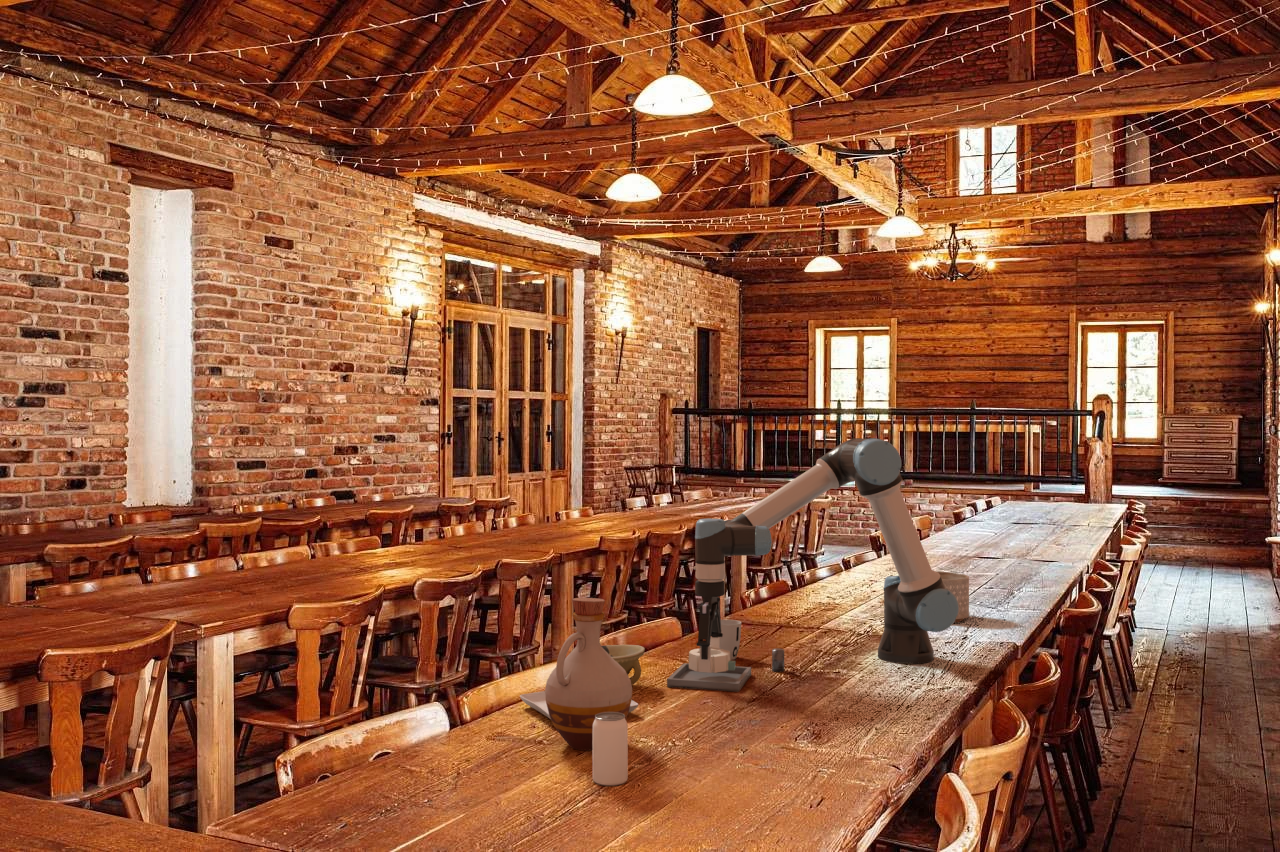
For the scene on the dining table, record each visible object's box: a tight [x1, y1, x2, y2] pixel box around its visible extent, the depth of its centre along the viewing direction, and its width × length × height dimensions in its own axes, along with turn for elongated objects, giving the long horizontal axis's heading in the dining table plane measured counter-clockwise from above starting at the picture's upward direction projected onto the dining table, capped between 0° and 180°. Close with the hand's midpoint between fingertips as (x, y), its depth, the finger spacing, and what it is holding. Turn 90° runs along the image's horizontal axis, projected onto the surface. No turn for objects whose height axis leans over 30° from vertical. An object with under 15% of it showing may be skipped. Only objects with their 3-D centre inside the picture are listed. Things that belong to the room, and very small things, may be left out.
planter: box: [937, 571, 970, 623], centre depth 359 cm, size 19×19×14 cm
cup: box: [718, 619, 742, 661], centre depth 300 cm, size 8×8×10 cm
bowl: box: [601, 644, 646, 686], centre depth 268 cm, size 18×18×10 cm
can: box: [592, 712, 629, 787], centre depth 198 cm, size 6×6×12 cm
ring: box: [688, 648, 736, 673], centre depth 273 cm, size 10×12×4 cm
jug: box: [544, 597, 633, 751], centre depth 219 cm, size 20×18×30 cm
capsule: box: [771, 648, 785, 673], centre depth 285 cm, size 3×3×6 cm
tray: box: [666, 662, 752, 693], centre depth 274 cm, size 18×18×2 cm
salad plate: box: [519, 690, 639, 720], centre depth 245 cm, size 21×21×3 cm
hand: (709, 667), depth 274 cm, fingers closed on ring, 10 cm apart
